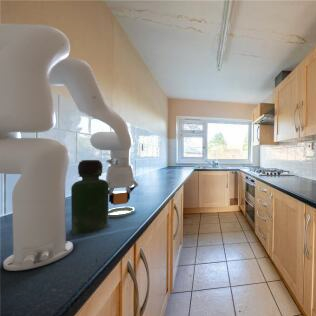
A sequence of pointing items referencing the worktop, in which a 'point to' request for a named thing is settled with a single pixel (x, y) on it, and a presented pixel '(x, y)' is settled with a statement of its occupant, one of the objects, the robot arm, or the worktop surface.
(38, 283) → the worktop surface
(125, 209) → the white plate
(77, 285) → the worktop surface
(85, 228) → the dark green bottle
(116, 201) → the cube
